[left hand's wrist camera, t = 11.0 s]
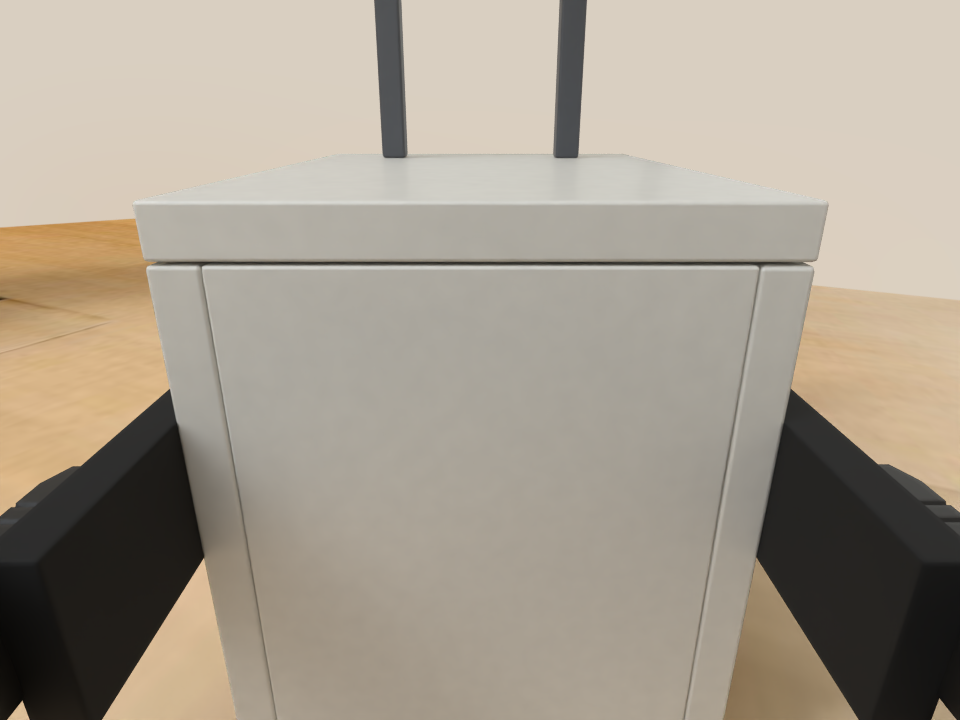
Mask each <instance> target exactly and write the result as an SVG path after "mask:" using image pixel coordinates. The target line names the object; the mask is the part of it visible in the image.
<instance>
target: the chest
mask: <svg viewBox="0 0 960 720" xmlns="http://www.w3.org/2000/svg"><path fill="white" fill-rule="evenodd" d="M146 272H147V277H148V282H149V287H150V292H151V297H152V302H153V307H154V312H155V317H156V322H157V327H158V332H159V337H160V342H161V347H162V352H163V357H164V362H165V366H166V371H167V376H168V381H169V386H170V391H171V396H172V401H173V406H174V411H175V416H176V421H177V425H178V430H179V435H180V439H181V444H182V449H183V454H184V459H185V464H186V469H187V474H188V479H189V484H190V489H191V494H192V499H193V504H194V509H195V514H196V519H197V524H198V529H199V534H200V539H201V543H202V548H203V553H204V560H205V565H206V570H207V574H208V579H209V584H210V589H211V594H212V599H213V604H214V609H215V614H216V619H217V624H218V629H219V634H220V639H221V644H222V649H223V654H224V659H225V664H226V669H227V674H228V678H229V683H230V688H231V693H232V698H233V703H234V708H235V713H236V718H237V720H724V715H725V710H726V705H727V700H728V695H729V690H730V685H731V680H732V675H733V670H734V666H735V661H736V656H737V651H738V646H739V641H740V636H741V631H742V626H743V621H744V616H745V611H746V606H747V601H748V596H749V592H750V587H751V582H752V577H753V572H754V567H755V562H756V557H757V552H758V547H759V542H760V537H761V532H762V527H763V522H764V517H765V513H766V508H767V503H768V498H769V493H770V488H771V483H772V478H773V473H774V468H775V463H776V458H777V453H778V448H779V443H780V438H781V434H782V429H783V424H784V419H785V414H786V409H787V404H788V399H789V394H790V389H791V384H792V379H793V374H794V369H795V365H796V360H797V355H798V350H799V345H800V340H801V335H802V330H803V325H804V320H805V315H806V310H807V305H808V300H809V295H810V291H811V286H812V281H813V276H814V268H813V267H812V266H810V265H808V264H806V263H803V262H156V263H154V264H152V265H150V266H147V269H146Z"/></svg>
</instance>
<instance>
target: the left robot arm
mask: <svg viewBox="0 0 960 720" xmlns="http://www.w3.org/2000/svg"><path fill="white" fill-rule="evenodd" d="M203 558H204V553H203V548H202V543H201V539H200V534H199V529H198V524H197V519H196V514H195V509H194V504H193V499H192V494H191V489H190V484H189V479H188V474H187V469H186V464H185V459H184V454H183V449H182V444H181V439H180V435H179V430H178V425H177V421H176V416H175V411H174V406H173V401H172V396H171V391H170V389H169V390H168V391H167V392H166V393H165V394H163V395H162V396H161V397H160V398H159V399H158V400H157V401H155V402H154V403H153V404H152V405H151V406H150V407H148V408H147V409H146V410H145V411H144V412H143V413H142V414H140V415H139V416H138V417H137V418H136V419H135V420H134V421H132V422H131V423H130V424H129V425H128V426H127V427H125V428H124V429H123V430H122V431H121V432H120V433H119V434H117V435H116V436H115V437H114V438H113V439H112V440H110V441H109V442H108V443H107V444H106V445H105V446H104V447H102V448H101V449H100V450H99V451H98V452H97V453H96V454H94V455H93V456H92V457H91V458H90V459H89V460H87V461H86V462H85V463H84V464H83V465H82V466H73V467H71V468H69V469H67V470H65V471H63V472H61V473H59V474H57V475H55V476H53V477H51V478H50V479H48V480H46V481H44V482H42V483H40V484H39V485H38V486H36V487H35V488H34V489H33V490H31V491H30V492H29V493H28V494H27V495H25V496H24V497H23V498H22V499H21V500H19V501H18V502H17V503H16V507H11V508H10V509H8V510H7V511H6V512H5V513H4V514H2V515H1V516H0V720H7V719H8V718H9V717H10V715H11V714H12V713H13V711H14V710H15V709H16V708H17V706H18V705H19V704H20V703H21V701H22V700H23V703H24V706H25V708H26V711H27V714H28V716H29V719H30V720H102V719H103V717H104V716H105V714H106V712H107V711H108V709H109V708H110V706H111V704H112V703H113V701H114V700H115V698H116V697H117V695H118V693H119V692H120V690H121V689H122V687H123V685H124V684H125V682H126V681H127V679H128V677H129V676H130V674H131V673H132V671H133V670H134V668H135V666H136V665H137V663H138V662H139V660H140V658H141V657H142V655H143V654H144V652H145V650H146V649H147V647H148V646H149V644H150V643H151V641H152V639H153V638H154V636H155V635H156V633H157V631H158V630H159V628H160V627H161V625H162V623H163V622H164V620H165V619H166V617H167V616H168V614H169V612H170V611H171V609H172V608H173V606H174V604H175V603H176V601H177V600H178V598H179V596H180V595H181V593H182V592H183V590H184V589H185V587H186V585H187V584H188V582H189V581H190V579H191V577H192V576H193V574H194V573H195V571H196V569H197V568H198V566H199V565H200V563H201V562H202V560H203ZM757 559H758V560H759V562H760V564H761V565H762V567H763V568H764V570H765V572H766V573H767V575H768V576H769V578H770V579H771V581H772V583H773V584H774V586H775V587H776V589H777V591H778V592H779V594H780V595H781V597H782V598H783V600H784V602H785V603H786V605H787V606H788V608H789V610H790V611H791V613H792V614H793V616H794V618H795V619H796V621H797V622H798V624H799V625H800V627H801V629H802V630H803V632H804V633H805V635H806V637H807V638H808V640H809V641H810V643H811V645H812V646H813V648H814V649H815V651H816V652H817V654H818V656H819V657H820V659H821V660H822V662H823V664H824V665H825V667H826V668H827V670H828V672H829V673H830V675H831V676H832V678H833V679H834V681H835V683H836V684H837V686H838V687H839V689H840V691H841V692H842V694H843V695H844V697H845V699H846V700H847V702H848V703H849V705H850V706H851V708H852V710H853V711H854V713H855V714H856V716H857V718H858V719H859V720H931V719H932V716H933V713H934V711H935V708H936V706H937V703H938V700H939V698H940V699H941V701H942V702H943V703H944V704H945V706H946V707H947V708H948V709H949V711H950V712H951V713H952V715H953V716H954V717H955V718H956V720H960V512H958V511H957V510H956V509H955V508H953V507H952V506H951V505H946V501H945V500H944V499H942V498H941V497H940V496H939V495H938V494H936V493H935V492H934V491H933V490H932V489H930V488H929V487H928V486H927V485H925V484H924V483H923V482H922V481H920V480H918V479H916V478H914V477H912V476H910V475H908V474H906V473H904V472H902V471H900V470H899V469H897V468H895V467H893V466H891V465H889V464H877V463H876V462H874V461H873V460H872V459H871V458H870V457H869V456H868V455H866V454H865V453H864V452H863V451H862V450H861V449H860V448H858V447H857V446H856V445H855V444H854V443H853V442H851V441H850V440H849V439H848V438H847V437H846V436H845V435H843V434H842V433H841V432H840V431H839V430H838V429H836V428H835V427H834V426H833V425H832V424H831V423H830V422H828V421H827V420H826V419H825V418H824V417H823V416H821V415H820V414H819V413H818V412H817V411H816V410H815V409H813V408H812V407H811V406H810V405H809V404H808V403H807V402H805V401H804V400H803V399H802V398H801V397H800V396H798V395H797V394H796V393H795V392H794V391H793V390H792V389H790V394H789V399H788V404H787V409H786V414H785V419H784V424H783V429H782V434H781V438H780V443H779V448H778V453H777V458H776V463H775V468H774V473H773V478H772V483H771V488H770V493H769V498H768V503H767V508H766V513H765V517H764V522H763V527H762V532H761V537H760V542H759V547H758V552H757Z"/></svg>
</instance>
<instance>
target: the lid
mask: <svg viewBox="0 0 960 720" xmlns="http://www.w3.org/2000/svg"><path fill="white" fill-rule="evenodd" d="M374 3H375V22H376V40H377V58H378V76H379V95H380V113H381V131H382V150H383V154H336V155H332V156H328V157H323V158H319V159H314V160H310V161H306V162H302V163H297V164H293V165H288V166H284V167H280V168H275V169H271V170H266V171H262V172H258V173H254V174H249V175H245V176H240V177H236V178H232V179H227V180H223V181H219V182H214V183H210V184H206V185H201V186H197V187H192V188H188V189H184V190H179V191H175V192H171V193H166V194H162V195H157V196H153V197H149V198H144V199H140V200H136V201H134V202H133V209H134V214H135V219H136V224H137V229H138V234H139V239H140V244H141V249H142V254H143V258H144V260H145V261H148V262H813V261H816V260H817V259H818V255H819V250H820V245H821V240H822V234H823V230H824V225H825V220H826V215H827V210H828V202H827V201H824V200H820V199H816V198H812V197H807V196H803V195H799V194H794V193H790V192H786V191H781V190H777V189H773V188H768V187H764V186H760V185H755V184H750V183H746V182H742V181H738V180H733V179H729V178H725V177H720V176H716V175H712V174H707V173H703V172H699V171H694V170H689V169H685V168H681V167H677V166H672V165H668V164H664V163H659V162H655V161H651V160H646V159H642V158H637V157H633V156H629V155H624V154H578V150H579V132H580V114H581V96H582V78H583V60H584V42H585V25H586V6H587V0H560V7H559V31H558V55H557V79H556V103H555V127H554V152H553V154H407V130H406V106H405V81H404V56H403V32H402V7H401V0H374Z"/></svg>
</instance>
